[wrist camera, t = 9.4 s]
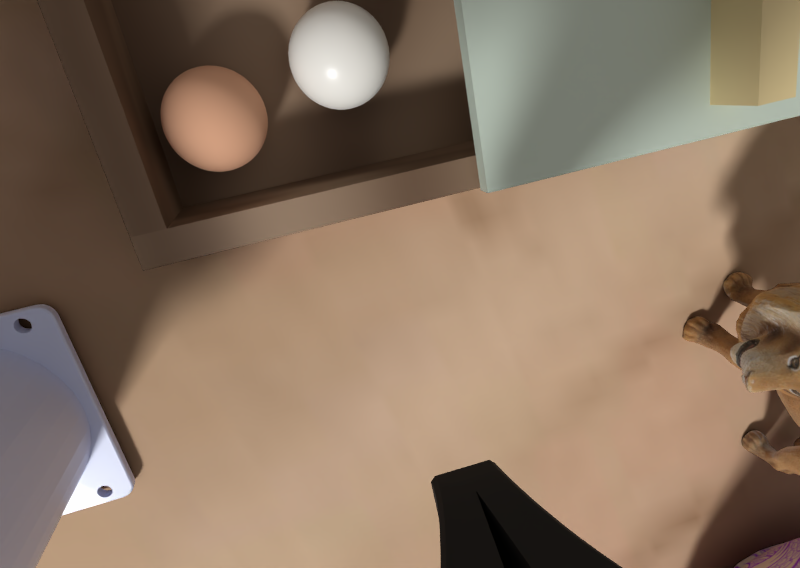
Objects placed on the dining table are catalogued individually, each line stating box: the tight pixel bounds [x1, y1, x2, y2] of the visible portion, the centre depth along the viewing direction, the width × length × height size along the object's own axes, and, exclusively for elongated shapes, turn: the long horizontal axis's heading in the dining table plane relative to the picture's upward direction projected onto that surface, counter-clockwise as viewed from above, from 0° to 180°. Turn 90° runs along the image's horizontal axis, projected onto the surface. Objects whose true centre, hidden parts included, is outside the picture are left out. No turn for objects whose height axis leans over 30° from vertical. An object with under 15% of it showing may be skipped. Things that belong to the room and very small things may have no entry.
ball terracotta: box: [160, 65, 268, 172], centre depth 16 cm, size 3×3×3 cm
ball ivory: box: [288, 1, 390, 110], centre depth 16 cm, size 3×3×3 cm
